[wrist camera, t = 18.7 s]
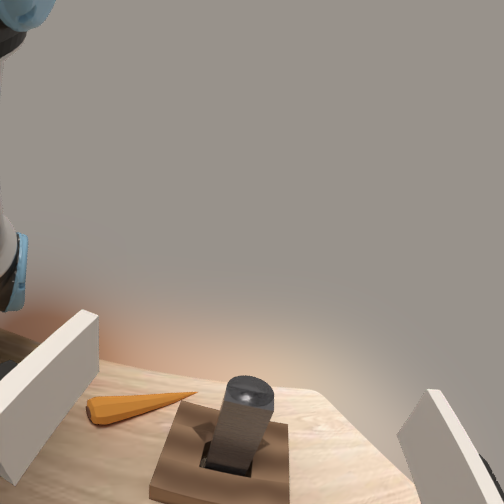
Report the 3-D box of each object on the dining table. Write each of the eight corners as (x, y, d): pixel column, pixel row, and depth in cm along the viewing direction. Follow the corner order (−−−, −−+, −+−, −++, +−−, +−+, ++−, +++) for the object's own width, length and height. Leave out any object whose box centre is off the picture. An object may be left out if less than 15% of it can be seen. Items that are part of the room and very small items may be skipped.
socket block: (279, 525, 27) (289, 513, 26) (149, 498, 27) (149, 484, 26) (279, 440, 43) (287, 424, 42) (178, 417, 43) (181, 400, 42)
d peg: (239, 487, 32) (273, 411, 28) (201, 479, 32) (223, 400, 28) (242, 460, 37) (274, 381, 33) (207, 452, 37) (230, 371, 33)
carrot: (90, 431, 35) (95, 421, 33) (81, 404, 37) (85, 392, 36) (199, 408, 50) (210, 397, 48) (187, 386, 52) (198, 374, 50)
